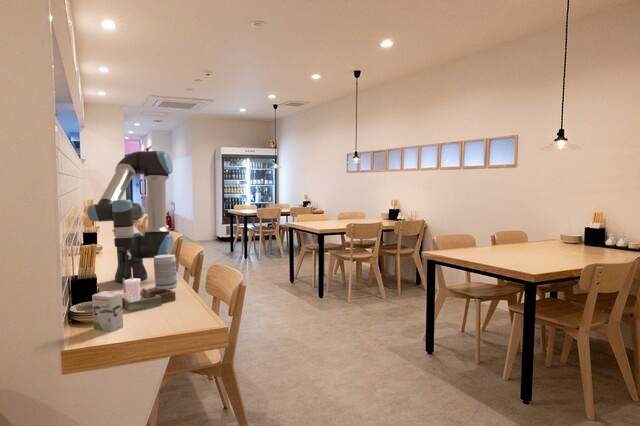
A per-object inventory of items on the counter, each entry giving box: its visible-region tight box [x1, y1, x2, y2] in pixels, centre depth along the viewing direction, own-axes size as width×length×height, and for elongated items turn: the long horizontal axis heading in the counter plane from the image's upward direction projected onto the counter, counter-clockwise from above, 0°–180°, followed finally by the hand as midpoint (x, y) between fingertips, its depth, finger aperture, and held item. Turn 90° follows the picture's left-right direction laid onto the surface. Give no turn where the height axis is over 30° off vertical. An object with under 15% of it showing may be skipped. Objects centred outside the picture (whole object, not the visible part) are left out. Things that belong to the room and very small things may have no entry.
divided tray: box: [122, 288, 177, 313], centre depth 172 cm, size 19×26×4 cm
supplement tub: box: [153, 253, 178, 290], centre depth 198 cm, size 10×10×15 cm
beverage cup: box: [124, 268, 142, 302], centre depth 175 cm, size 6×6×14 cm
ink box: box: [92, 290, 124, 333], centre depth 143 cm, size 9×5×12 cm, turn 69°
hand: (127, 292), depth 181 cm, fingers closed
